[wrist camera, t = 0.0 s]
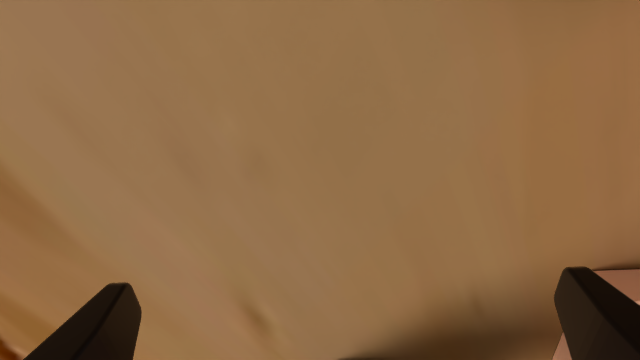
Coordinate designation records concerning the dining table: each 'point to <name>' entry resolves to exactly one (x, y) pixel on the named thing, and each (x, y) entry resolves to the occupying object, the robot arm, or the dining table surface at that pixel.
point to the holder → (627, 281)
